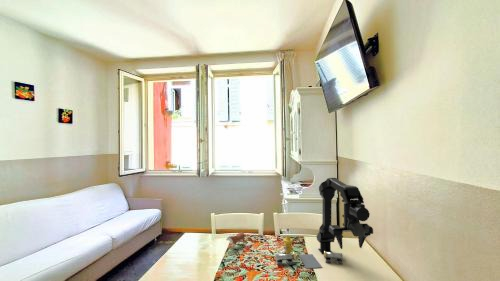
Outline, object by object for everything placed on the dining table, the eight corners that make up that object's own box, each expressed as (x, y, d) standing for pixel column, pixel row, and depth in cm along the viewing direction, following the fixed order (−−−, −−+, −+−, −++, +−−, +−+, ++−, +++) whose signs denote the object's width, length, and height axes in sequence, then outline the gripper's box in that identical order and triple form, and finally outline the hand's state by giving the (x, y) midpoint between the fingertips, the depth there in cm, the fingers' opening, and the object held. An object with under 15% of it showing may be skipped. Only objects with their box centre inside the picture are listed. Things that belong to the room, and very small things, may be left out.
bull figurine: (225, 248, 141) (225, 234, 141) (242, 242, 150) (242, 229, 150) (229, 251, 138) (229, 236, 138) (246, 244, 147) (246, 231, 147)
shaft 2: (324, 262, 124) (324, 253, 124) (323, 258, 128) (323, 249, 128) (342, 264, 121) (342, 254, 121) (341, 260, 126) (341, 251, 126)
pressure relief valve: (294, 253, 134) (294, 235, 134) (281, 261, 125) (281, 242, 125) (286, 250, 138) (286, 233, 138) (273, 257, 129) (273, 239, 129)
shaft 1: (277, 265, 121) (277, 255, 121) (275, 261, 125) (275, 251, 125) (296, 264, 122) (296, 254, 122) (293, 260, 126) (293, 250, 126)
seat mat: (298, 255, 131) (298, 254, 131) (312, 254, 132) (312, 254, 132) (306, 268, 117) (306, 268, 117) (322, 267, 118) (322, 267, 118)
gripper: (339, 220, 99) (339, 257, 99) (381, 218, 101) (381, 255, 101) (328, 212, 110) (328, 246, 110) (365, 211, 112) (366, 244, 112)
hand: (350, 248), depth 108 cm, fingers open, 9 cm apart
